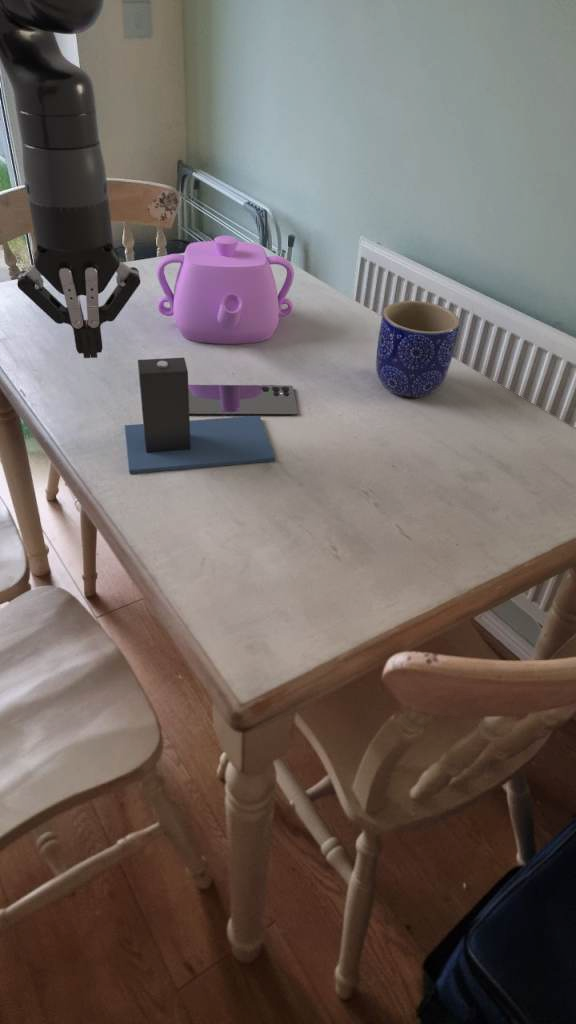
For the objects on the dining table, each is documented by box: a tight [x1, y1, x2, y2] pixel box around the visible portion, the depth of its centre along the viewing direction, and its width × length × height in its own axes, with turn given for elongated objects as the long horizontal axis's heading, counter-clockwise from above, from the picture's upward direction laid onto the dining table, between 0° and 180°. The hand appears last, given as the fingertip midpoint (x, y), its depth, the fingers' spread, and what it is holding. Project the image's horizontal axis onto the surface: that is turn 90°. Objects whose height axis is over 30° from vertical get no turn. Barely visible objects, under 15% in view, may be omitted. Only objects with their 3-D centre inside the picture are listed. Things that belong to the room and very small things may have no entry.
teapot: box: [156, 235, 295, 345], centre depth 112 cm, size 19×21×14 cm
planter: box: [375, 300, 461, 398], centre depth 101 cm, size 11×11×11 cm
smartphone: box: [188, 384, 298, 416], centre depth 98 cm, size 8×1×16 cm
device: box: [137, 357, 191, 453], centre depth 84 cm, size 6×4×11 cm, turn 103°
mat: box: [124, 415, 276, 475], centre depth 89 cm, size 18×10×1 cm, turn 103°
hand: (90, 354), depth 78 cm, fingers closed
